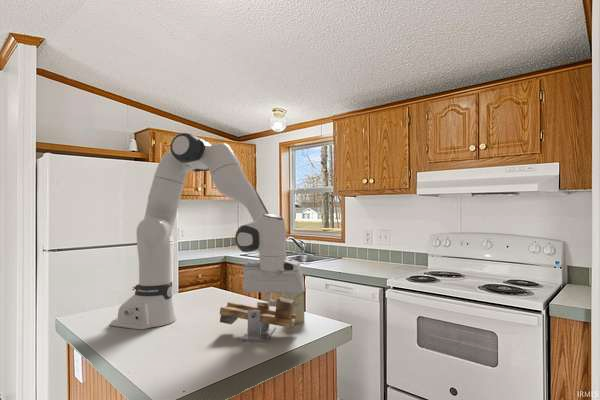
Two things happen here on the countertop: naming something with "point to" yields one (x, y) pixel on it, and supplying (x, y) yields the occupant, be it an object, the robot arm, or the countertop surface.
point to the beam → (241, 311)
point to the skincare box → (297, 305)
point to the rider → (284, 308)
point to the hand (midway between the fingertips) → (273, 306)
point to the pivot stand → (258, 326)
